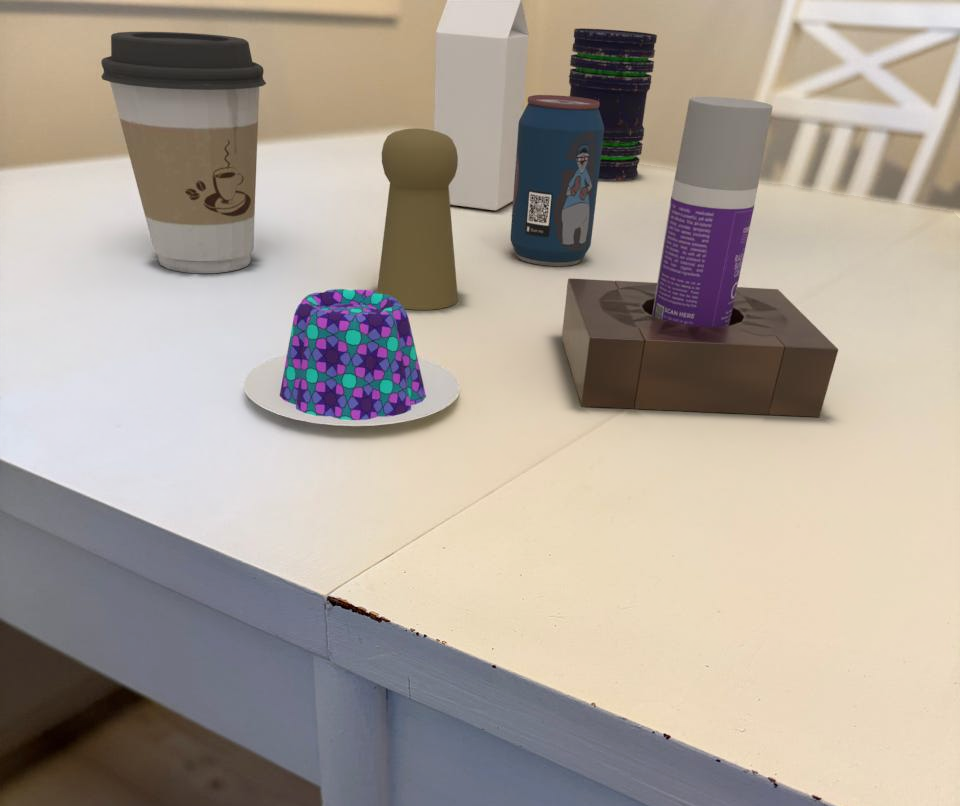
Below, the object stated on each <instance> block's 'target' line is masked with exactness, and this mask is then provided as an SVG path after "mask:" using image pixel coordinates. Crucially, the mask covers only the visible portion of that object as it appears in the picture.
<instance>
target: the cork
mask: <svg viewBox="0 0 960 806" xmlns="http://www.w3.org/2000/svg"><path fill="white" fill-rule="evenodd" d="M381 165H382V169H383V173H384V175H385V177H386V179H387V180H388V182H389V188H388V196H387V204H386V205H387V206H386V214H385V220H384V230H383V237H382V238H383V239H382V246H381V255H380V262H379V263H380V264H379V271H378V272H379V273H378V280H377V288H376V293H378V294H386V295H390V296H393V297H394V298H396V299H397V300H398V301H399V302H400V304H401V305H402V306H403V307H404V309H405V310H412V311H415V310H416V311H430V310H440V309H445V308H450V307H452V306H454V305H456V304H457V302H458V301H459V297H458V296H459V295H458V284H457V273H456V271H457V270H456V261H455V249H454V248H455V247H454V236H453V224H452V211H451V205H450V198H449V184H450V183H451V181H452V180H453V178H454V177H455V174H456V170H457V165H458V155H457V150H456V147H455V145H454V143H453V140H452V139H451V138H450V137H449V136H447V135H445V134H442V133H440V132H437V131H434V129H433V130H432V129H427V128H416V127H415V128H406V129H401V130H395V131H394V132H391V133H390V134H388V135H387V137H386V139H385V140H384V142H383V144H382V149H381Z"/></svg>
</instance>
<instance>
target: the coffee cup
mask: <svg viewBox="0 0 960 806" xmlns="http://www.w3.org/2000/svg"><path fill="white" fill-rule="evenodd" d="M100 64H101V67H102V69H103V73H102V74H101V79H102V81H106V82H109V83H110V87H111V91H112V95H113V98H114V102H115V106H116V111H117V114H118V119H119V121H120V126H121V129H122V134H123V137H124V142H125V145H126V148H127V153H128V156H129V161H130V164H131V167H132V171H133V175H134V179H135V183H136V186H137V190H138V195H139V198H140V202H141V206H142V211H143V213H144V217H145V220H146V221H145V222H146V225H147V228H148V232H149V237H150V240H151V244H152V248H153V251H154V253H155V254H157V258H158V262H159V264H160V266H162V267H163V268H165V269H169V270H172V271H174V272H181V273H188V274H220V273H227V272H234V271H238V270H242V269H244V268H246V267H248V266H249V265H250V263H251V260H252V252H253V250H254V239H255V237H254V236H255V215H256V209H255V208H256V184H257V161H258V159H257V157H258V135H259V134H258V133H259V107H260V105H259V104H260V87H264V86H265V85H266V84H267V82H266V81H265V79H264V71H265V70H264V67H263V65H261V64H259V63H258V62H254V61H253V59H252V53H251V47H250V43H249V41H247V40H246V38H245V39H244V38H241V37H236V36H229V35H220V34H207V33H193V32H177V31H176V32H174V31H120V32H119V31H118V32H115V33H112V34H111V35H110V55H109V56H106V57H103V58H102V59H101V63H100Z"/></svg>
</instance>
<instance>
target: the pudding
mask: <svg viewBox="0 0 960 806" xmlns="http://www.w3.org/2000/svg"><path fill="white" fill-rule="evenodd" d="M292 319H293V320H292V324H291V331H290V336H289V341H288V347H287V351H286V354H283V355H281V356H277V357H275V358H271V359H270V360H267V361H264V362H262V363H261V364H259V365H258V366H256V367H254V368H253V369H252V370H251V371H250V372H249V373H248V374H247V375H246V377H245V379H244V380H243V390H244V392H245V394H246V396H247V397H248V398H249V399H250V400H251V402H253V403H254V404H256V405H258V406H259V407H261V408H263V409H265V410H267V411H269V412H271V413H274V414H277V415H278V416H283V417H286V418H289V419H292V420H297V421H302V422H306V423H311V424H318V425H327V426H336V427H338V426H339V427H374V426H383V425H392V424H400V423H404V422H405V423H406V422H410V421H414V420H417V419H418V420H419V419H421V418H424V417H428V416H430V415H433V414H435V413H438V412H440V411H442V410H444V409H446V408H447V407H448V406H450V405H451V404H452V403H453V402H454V401H455V400H456V399H457V398H458V396H459V393H460V392H461V391H460V383H459V381H458V379H457V377H456V376H455V375H454V374H453V373H452V372H451V371H449V370H448V369H446V368H445V367H443V366H442V365H440V364H438V363H436V362H434V361H431V360H429V359H426V358H423V357H420V356H418V355H417V350H416V344H415V340H414V337H413V332H412V327H411V324H410V318H409V315H408V313H407V311H406V309H404V307H403V306H402V305H401V304H400V302H399V301H398V300H397V299H396V298H394V297H393V296H390V295H386V294H378V293H377V291H374V290H370V289H359V288H357V289H345V288H334V289H327V290H325V291H323V292H322V291H321V292H312V293H310V294H307V295H306V296H304V297H303V299H301V301H300V303H299V304H298V305H297V307H296V309H295V312H294V315H293V318H292Z"/></svg>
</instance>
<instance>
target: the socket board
mask: <svg viewBox="0 0 960 806" xmlns="http://www.w3.org/2000/svg"><path fill="white" fill-rule="evenodd" d="M656 288H657V282H647V281H631V280H630V281H629V280H606V279H591V278H590V279H588V278H568V279H567V284H566V294H565V304H564V313H563V324H562V332H561V341H562V344H563V347H564V350H565V351H564V352H565V354H566V355H565V356H566V359H567V360H568V365H569V368H570V372H571V375H572V378H573V382H574V385H575V388H576V392H577V396H578V399H579V402H580V405H581V406H582V407H593V408H614V409H615V408H617V409H636V410H654V411H655V410H657V411H677V412H678V411H679V412H701V413H725V414H744V415H745V414H748V415H769V416H792V417H793V416H794V417H812V418H813V417H816V418H818V417H820V416H821V414H822V410H823V405H824V402H825V399H826V395H827V393H828V388H829V385H830V382H831V377H832V374H833V371H834V367H835V364H836V360H837V356H838V352H839V348H838V347H837V346H835V344H834V343H833V342H832V341H831V340H830V339H829V338H828V337H826V335H825V334H823V332H822V331H821V330H820V329H819V328H817V327H816V326H815V324H813V322H811V320H810V319H808V317H807V316H805V314H804V313H803V312H802V311H801V310H800V309H798V308H797V306H795V304H794V303H793V302H791V301H790V300H789V298H787V297H786V295H784V294H783V293H782V291H780V289H778V288H763V287H762V288H761V287H760V288H759V287H745V286H744V287H743V286H737V290H736V295H735V300H734V304H733V309H732V314H731V318H730V323H729V326H720V327H704V326H689V325H683V324H677V323H672V322H669V321H666V320H663V319H659V318H656V317H654V316H652V313H653V307H654V300H655V294H656Z"/></svg>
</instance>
